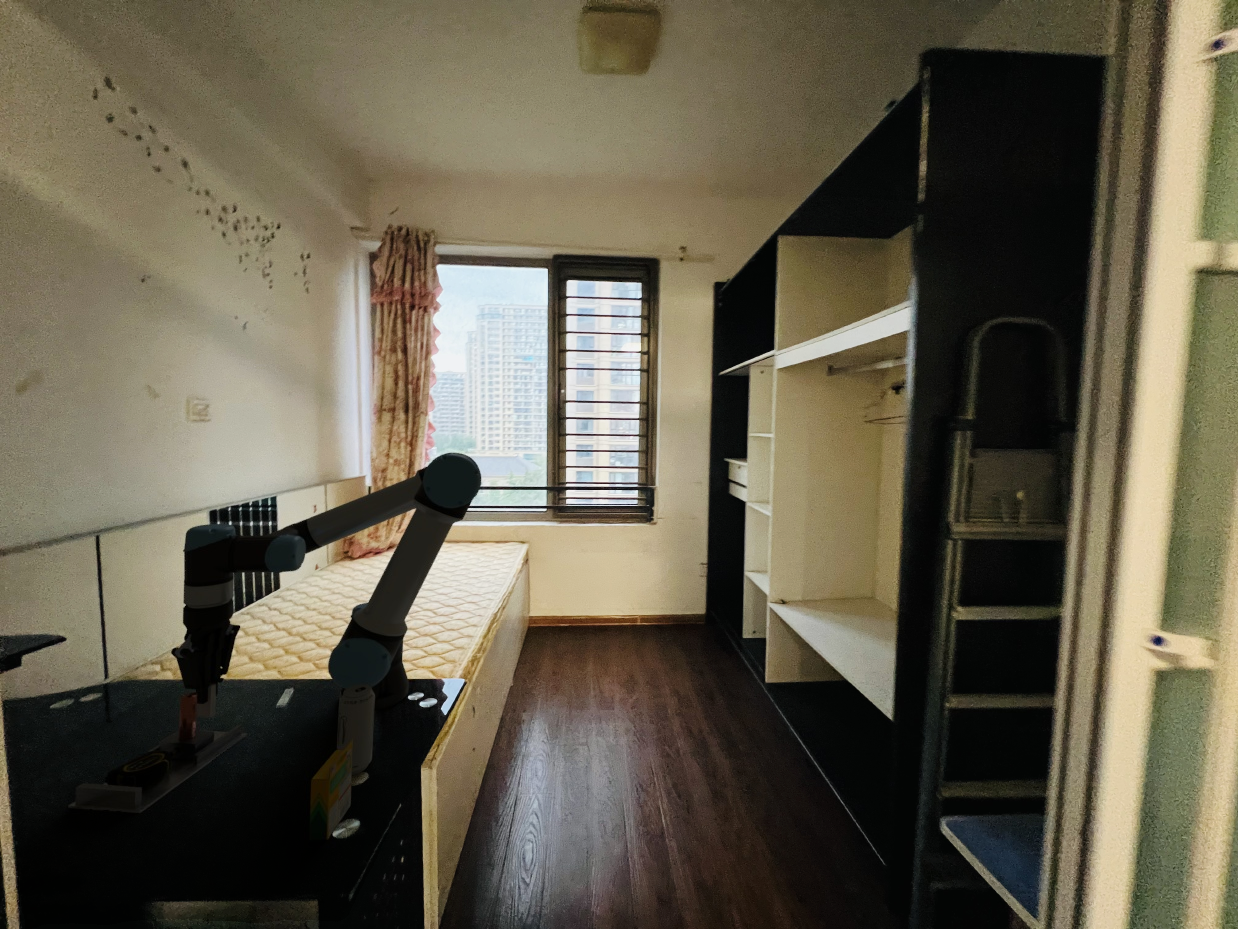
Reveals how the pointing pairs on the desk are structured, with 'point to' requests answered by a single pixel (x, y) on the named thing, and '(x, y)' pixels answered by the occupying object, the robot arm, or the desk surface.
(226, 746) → the press bed
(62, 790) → the desk surface
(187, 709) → the ram
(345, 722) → the energy drink can
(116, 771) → the tape measure
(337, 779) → the crayon box
